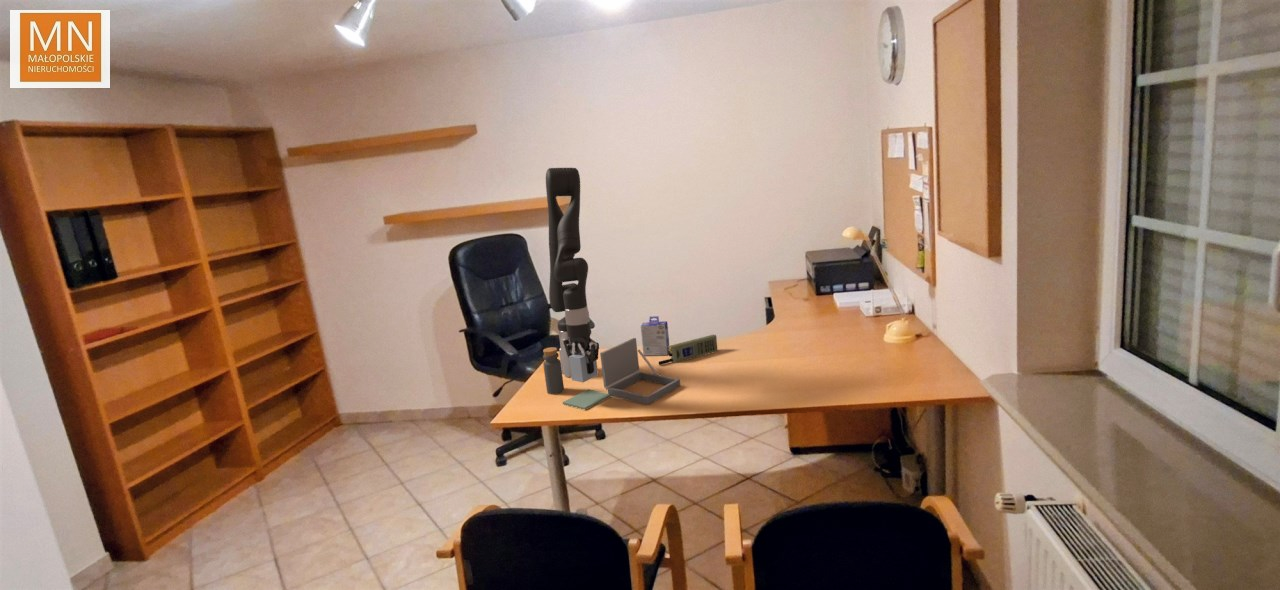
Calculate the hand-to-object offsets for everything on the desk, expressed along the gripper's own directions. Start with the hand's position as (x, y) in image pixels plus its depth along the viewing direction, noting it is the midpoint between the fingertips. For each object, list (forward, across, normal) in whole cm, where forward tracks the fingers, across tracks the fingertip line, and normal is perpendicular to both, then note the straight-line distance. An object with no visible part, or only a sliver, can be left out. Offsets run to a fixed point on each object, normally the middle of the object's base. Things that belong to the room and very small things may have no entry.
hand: (584, 371), depth 202 cm
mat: (+10, -1, 0) cm, 10 cm away
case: (+10, +12, +15) cm, 21 cm away
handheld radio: (+10, +6, +48) cm, 49 cm away
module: (+2, 0, 0) cm, 2 cm away
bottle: (+10, -17, +1) cm, 19 cm away
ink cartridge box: (+10, -8, +47) cm, 49 cm away
